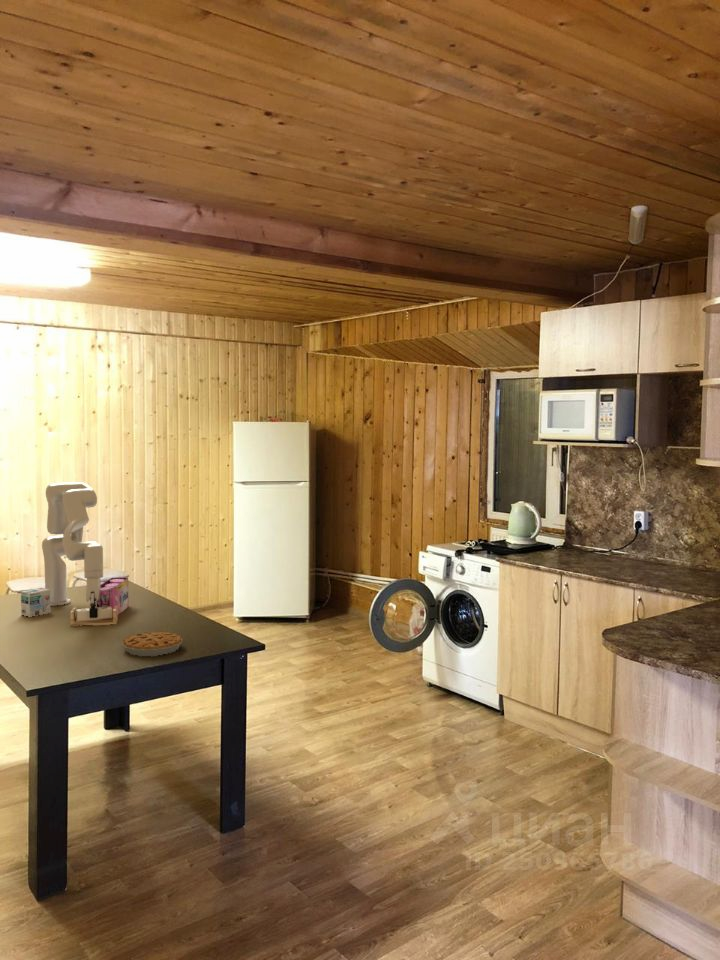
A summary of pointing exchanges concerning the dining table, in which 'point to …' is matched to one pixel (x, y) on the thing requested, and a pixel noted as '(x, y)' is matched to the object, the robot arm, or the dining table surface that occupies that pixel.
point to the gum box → (115, 594)
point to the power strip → (85, 615)
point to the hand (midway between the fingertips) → (94, 615)
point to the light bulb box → (35, 602)
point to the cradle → (94, 622)
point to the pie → (152, 643)
